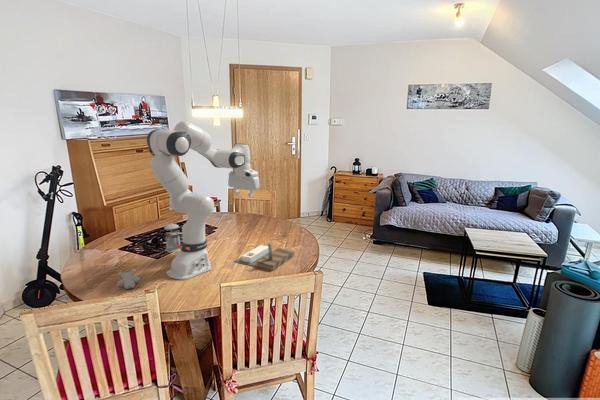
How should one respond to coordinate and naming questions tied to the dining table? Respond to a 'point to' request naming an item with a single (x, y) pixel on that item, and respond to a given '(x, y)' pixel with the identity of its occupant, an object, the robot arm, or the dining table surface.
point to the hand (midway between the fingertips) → (244, 195)
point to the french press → (172, 237)
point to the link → (255, 254)
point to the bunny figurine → (128, 279)
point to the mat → (248, 262)
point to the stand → (275, 258)
